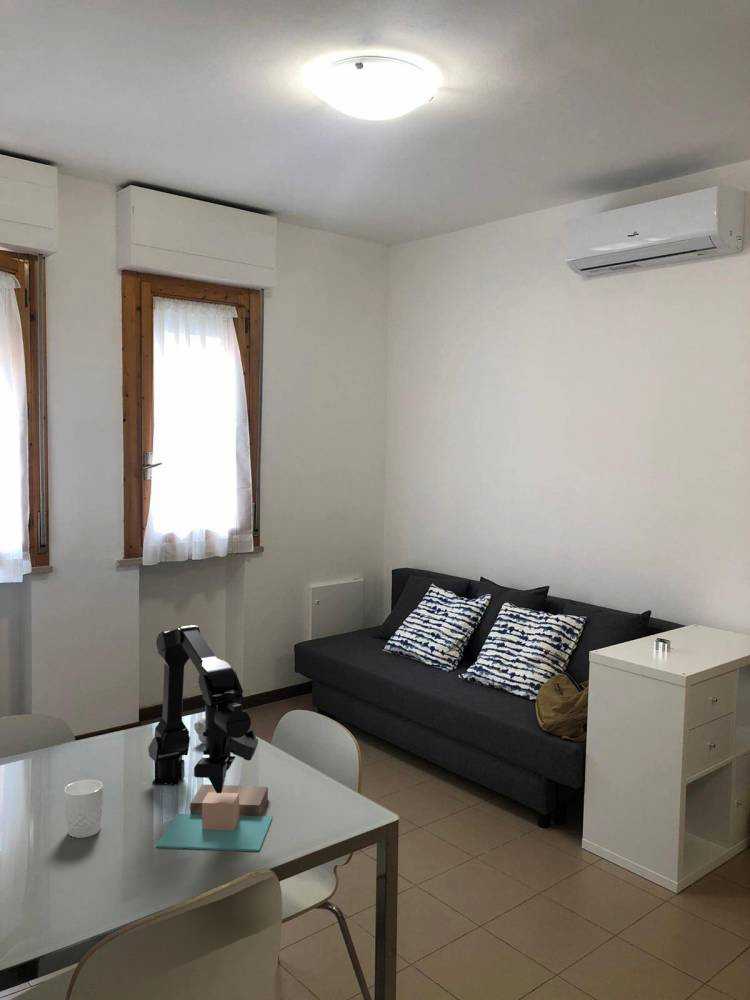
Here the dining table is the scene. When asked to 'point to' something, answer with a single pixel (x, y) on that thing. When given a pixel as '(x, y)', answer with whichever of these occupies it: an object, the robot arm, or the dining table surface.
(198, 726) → the grey rounded piece
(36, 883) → the dining table surface
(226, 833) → the teal mat
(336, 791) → the dining table surface
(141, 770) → the dining table surface
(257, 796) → the walnut deck
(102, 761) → the dining table surface
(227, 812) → the terracotta block
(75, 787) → the white cup
